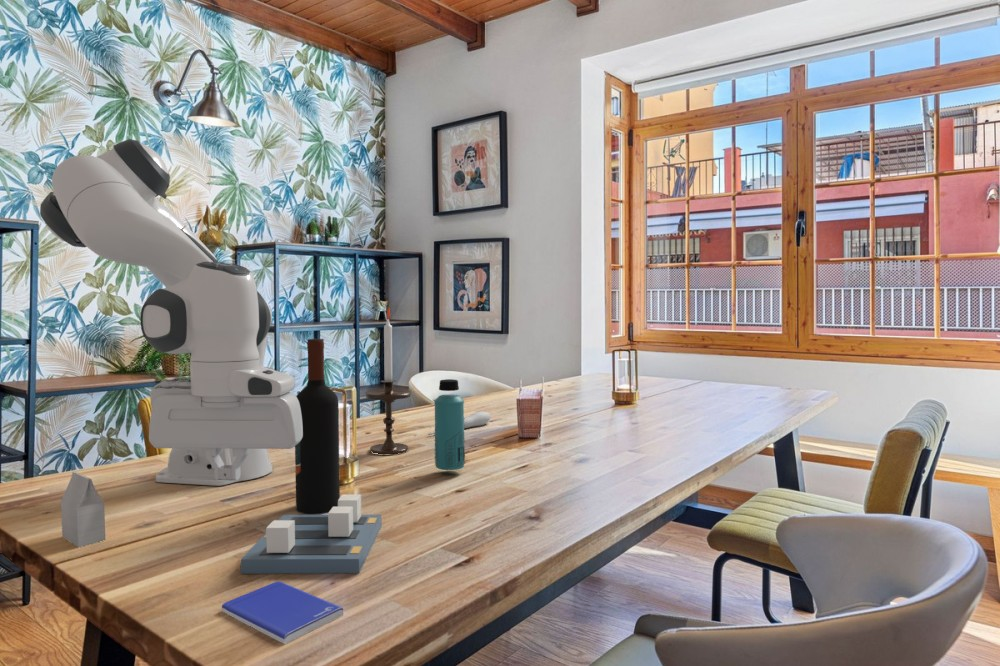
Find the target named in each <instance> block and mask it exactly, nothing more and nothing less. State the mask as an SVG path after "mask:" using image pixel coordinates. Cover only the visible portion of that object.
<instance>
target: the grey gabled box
mask: <svg viewBox="0 0 1000 666" xmlns="http://www.w3.org/2000/svg"><path fill="white" fill-rule="evenodd" d="M60 507H61V508H60V509H61V534H62V537H61V538H63V537H64V538H65V540H66V539H67V540H68V541H67V540H66V541H67V542H69V541H70V542H71V544H72V543H73V544H72V545H73V546H75V545H76V546H75V547H77V548H78V547H80V548H82V547H81V546H83V547H86V546H85V545H87V546H90V545H89V544H91V545H94V544H93V543H95V544H97V543H96V542H98V543H101V542H100V541H102V542H104V541H103V540H106V519H105V515H106V514H105V502H104V501H103V499H102V497H101V496H100V494H99V493H98V491H97V490H96V488H95V485H94V483H93V480H92V478H90V477H88V476H86V475H83V474H81V473H79V472H76V471H72V473H71V477H70V480H69V483H68V485H67V487H66V489H65V491H64V493H63V495H62V497H61V499H60ZM64 538H63V539H64ZM70 542H69V543H70Z"/></svg>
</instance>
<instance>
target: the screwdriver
mask: <svg viewBox="0 0 1000 666" xmlns="http://www.w3.org/2000/svg"><path fill="white" fill-rule="evenodd" d="M490 420H491V414H490V413H489V412H487V411H475V412H474V413H472V414H470V415H469V416H466V417H464V424H465V426H464V430H465V429H468V428H474V427H475V428H476V427H482V426H484V425H486V424H488V423H489V422H490ZM481 425H482V426H481ZM428 435H429V436H432V435H435V430H434V431H432V432H429V433H427V436H428Z"/></svg>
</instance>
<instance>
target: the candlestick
mask: <svg viewBox="0 0 1000 666" xmlns="http://www.w3.org/2000/svg"><path fill="white" fill-rule="evenodd" d="M390 308H391V307H390V306H388V308H387V309H386V312H387V313H386V323H385V325H383V342H384V343H383V347H384V348H383V349H384V350H383V354H384V358H383V360H384V361H383V362H384V363H383V365H384V369H383V370H384V380H380V383H384V384H383V387H384V388H376V389H371V390H367V391H365V398H366V399H370V400H380V401H382V402H383V403H385V417H384V418H383V420H382V422H383V424H385V428H384V429H383V432H385V436H386V437H385V440H384V442H383V443H378V444H374V445H371V446H370V448H369V452H370V451H372V452H373V453H378V454H398V453H403V452H405V453H407V452H408V451H409V446H408V445H407V444H406V443H405V444H404V443H400V442H394V440H393V432H395V429H394V428H393V425H394V423H395V421H396V420H395V417H392V414H393V413H392V410H393V409H392V408H393V407H392V405H393V404H392V403H394V402H395V401H396V400H400V399H401V400H402V399H407V398H411V397H412V390H410V389H406V388H394V383H395V382H397V379H396V380H394V379H393V325H391V323H390V316H391V311H390ZM407 450H408V451H407ZM406 451H407V452H406ZM403 454H404V453H403ZM398 455H399V454H398Z"/></svg>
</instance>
